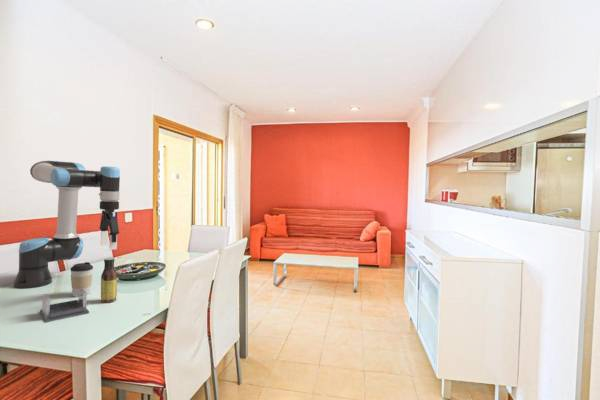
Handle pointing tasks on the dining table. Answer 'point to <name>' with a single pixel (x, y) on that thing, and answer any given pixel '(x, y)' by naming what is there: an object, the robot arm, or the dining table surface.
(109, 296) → the sauce bottle
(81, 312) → the clip holder
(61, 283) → the dining table surface
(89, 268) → the coffee cup
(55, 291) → the dining table surface
